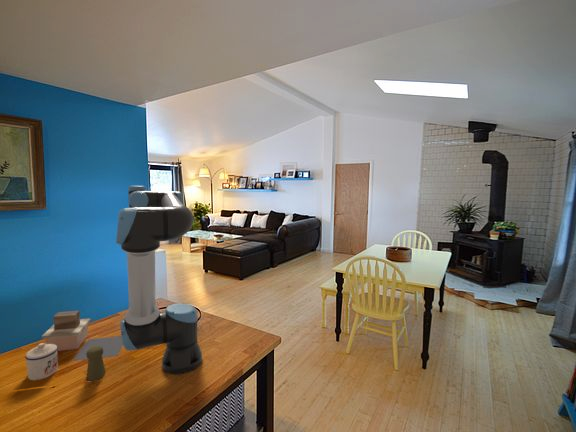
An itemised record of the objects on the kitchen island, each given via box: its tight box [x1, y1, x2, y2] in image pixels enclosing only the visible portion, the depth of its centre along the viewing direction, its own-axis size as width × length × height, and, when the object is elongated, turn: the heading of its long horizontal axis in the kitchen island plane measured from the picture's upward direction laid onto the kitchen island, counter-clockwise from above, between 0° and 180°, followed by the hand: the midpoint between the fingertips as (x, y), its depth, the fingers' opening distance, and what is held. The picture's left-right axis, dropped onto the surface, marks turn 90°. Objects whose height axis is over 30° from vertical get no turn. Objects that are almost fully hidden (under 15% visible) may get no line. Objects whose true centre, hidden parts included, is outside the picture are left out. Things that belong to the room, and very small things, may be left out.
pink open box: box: [45, 324, 89, 352], centre depth 126 cm, size 11×11×7 cm
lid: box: [41, 310, 92, 340], centre depth 125 cm, size 13×13×7 cm
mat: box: [72, 335, 124, 362], centre depth 124 cm, size 16×16×1 cm
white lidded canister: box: [24, 342, 59, 381], centre depth 108 cm, size 12×9×12 cm
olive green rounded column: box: [86, 346, 107, 382], centre depth 107 cm, size 6×6×11 cm
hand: (139, 261), depth 141 cm, fingers open, 13 cm apart
